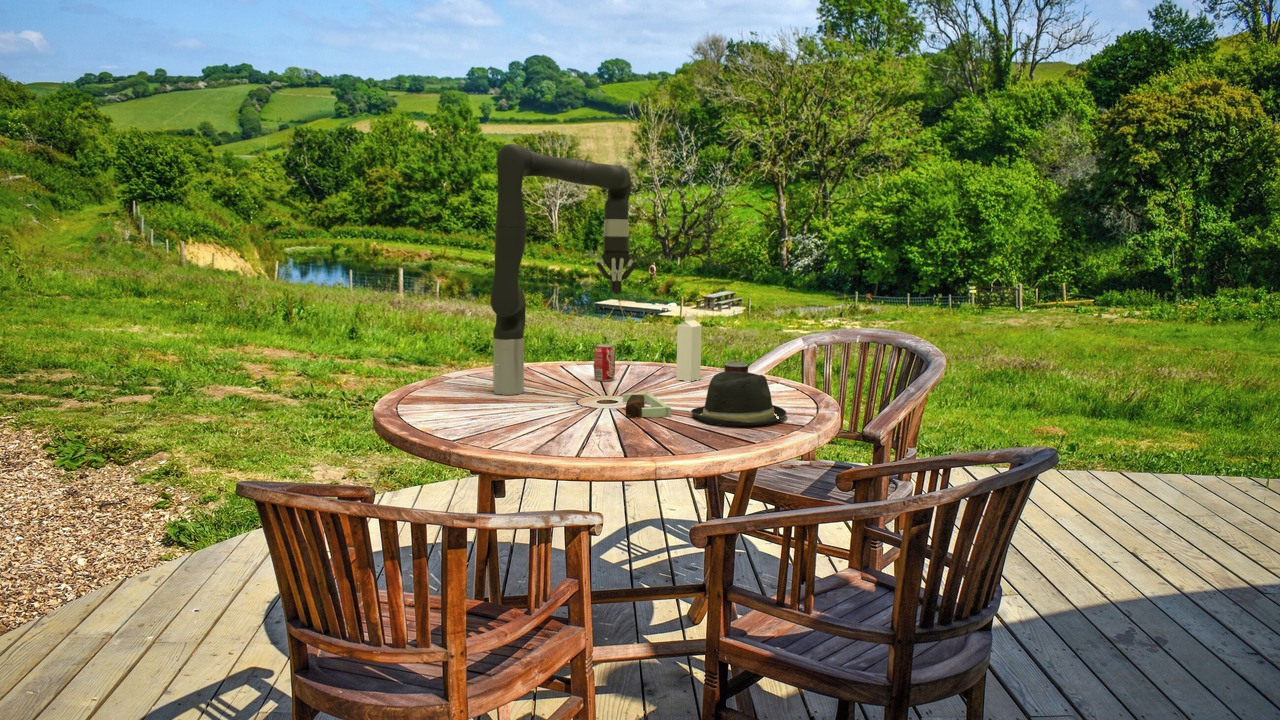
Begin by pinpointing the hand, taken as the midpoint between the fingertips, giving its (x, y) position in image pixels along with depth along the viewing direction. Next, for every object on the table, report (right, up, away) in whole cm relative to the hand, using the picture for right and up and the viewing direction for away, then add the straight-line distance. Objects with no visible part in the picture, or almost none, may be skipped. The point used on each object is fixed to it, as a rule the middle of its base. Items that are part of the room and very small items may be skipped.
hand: (615, 293), depth 256 cm
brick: (+6, -35, -14) cm, 39 cm away
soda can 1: (-5, -27, +35) cm, 44 cm away
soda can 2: (+36, -33, +2) cm, 49 cm away
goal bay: (+9, -34, -8) cm, 36 cm away
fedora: (+35, -36, -17) cm, 53 cm away
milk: (+24, -27, +37) cm, 51 cm away
